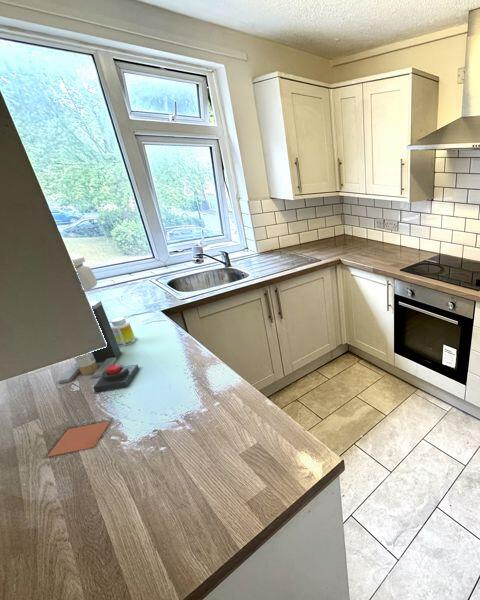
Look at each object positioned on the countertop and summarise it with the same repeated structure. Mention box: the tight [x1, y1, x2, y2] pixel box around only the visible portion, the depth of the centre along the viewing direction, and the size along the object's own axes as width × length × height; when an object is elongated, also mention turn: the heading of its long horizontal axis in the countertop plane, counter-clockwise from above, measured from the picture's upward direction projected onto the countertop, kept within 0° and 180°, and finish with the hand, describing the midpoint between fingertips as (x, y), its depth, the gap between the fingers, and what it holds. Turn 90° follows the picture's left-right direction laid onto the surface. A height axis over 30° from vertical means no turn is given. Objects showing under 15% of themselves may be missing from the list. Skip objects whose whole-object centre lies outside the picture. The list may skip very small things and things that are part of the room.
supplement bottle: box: [110, 316, 136, 347], centre depth 123 cm, size 6×6×10 cm
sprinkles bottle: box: [73, 352, 100, 376], centre depth 105 cm, size 5×5×14 cm
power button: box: [107, 363, 121, 375], centre depth 102 cm, size 3×3×2 cm
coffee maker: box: [58, 300, 122, 384], centre depth 105 cm, size 11×14×21 cm
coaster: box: [46, 420, 111, 458], centre depth 82 cm, size 9×9×1 cm
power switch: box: [93, 363, 140, 393], centre depth 103 cm, size 8×10×4 cm
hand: (60, 306), depth 98 cm, fingers closed
